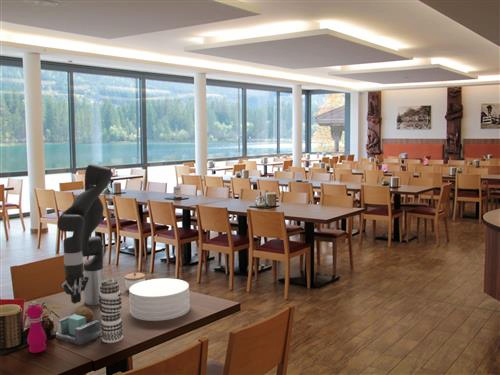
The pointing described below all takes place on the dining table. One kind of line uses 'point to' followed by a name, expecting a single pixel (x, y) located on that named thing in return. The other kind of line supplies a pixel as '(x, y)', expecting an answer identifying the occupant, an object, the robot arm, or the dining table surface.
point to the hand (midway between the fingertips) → (76, 302)
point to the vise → (82, 333)
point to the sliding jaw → (63, 324)
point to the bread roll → (84, 313)
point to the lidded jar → (134, 279)
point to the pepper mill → (36, 329)
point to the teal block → (75, 323)
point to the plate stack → (159, 299)
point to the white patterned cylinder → (110, 311)
